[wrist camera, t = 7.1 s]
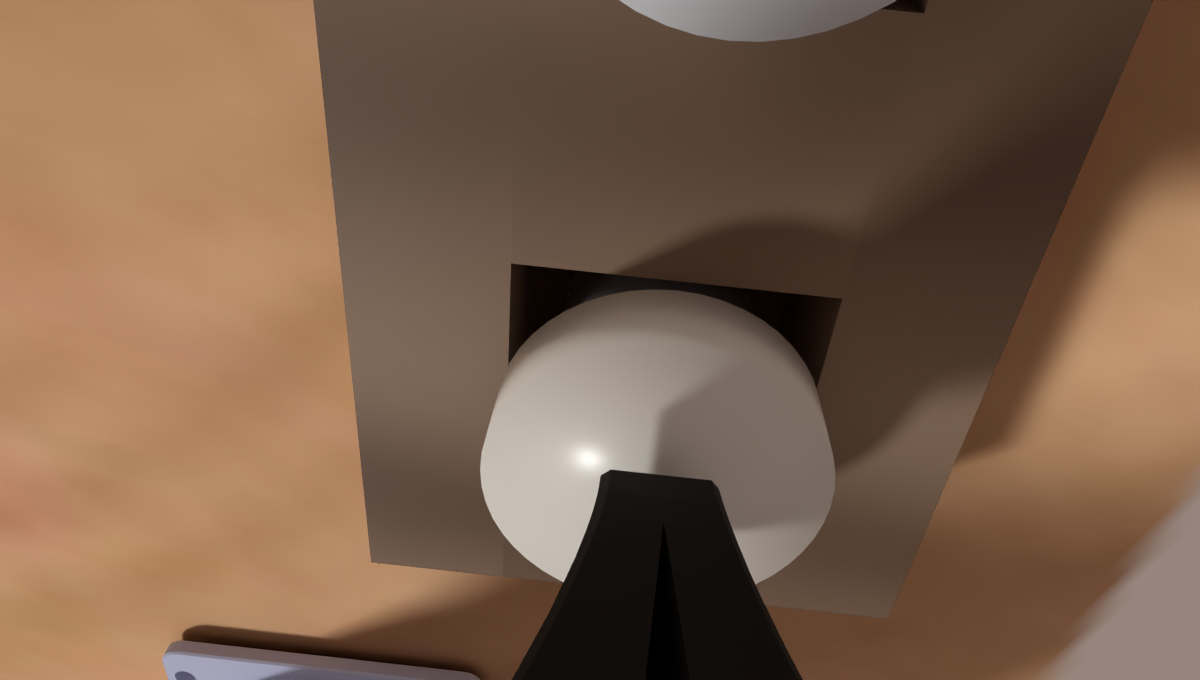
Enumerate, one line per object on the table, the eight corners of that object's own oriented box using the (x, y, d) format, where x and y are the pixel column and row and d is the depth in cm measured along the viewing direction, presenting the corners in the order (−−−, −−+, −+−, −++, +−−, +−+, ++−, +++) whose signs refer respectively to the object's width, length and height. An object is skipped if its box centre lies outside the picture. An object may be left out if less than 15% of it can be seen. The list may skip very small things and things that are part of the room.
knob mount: (855, 495, 17) (887, 619, 14) (414, 447, 17) (371, 562, 15) (1277, -709, 8) (1552, -931, 6) (347, -796, 8) (204, -1049, 6)
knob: (764, 426, 16) (793, 620, 12) (523, 400, 16) (479, 585, 12) (819, 204, 13) (877, 364, 10) (532, 174, 13) (480, 321, 10)
